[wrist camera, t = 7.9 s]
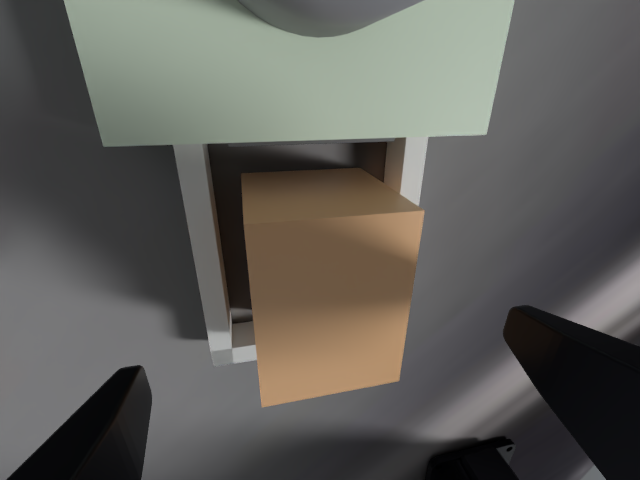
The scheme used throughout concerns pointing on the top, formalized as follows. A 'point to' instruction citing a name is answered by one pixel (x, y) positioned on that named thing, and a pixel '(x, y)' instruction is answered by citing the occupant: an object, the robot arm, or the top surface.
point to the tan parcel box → (328, 279)
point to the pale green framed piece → (284, 92)
